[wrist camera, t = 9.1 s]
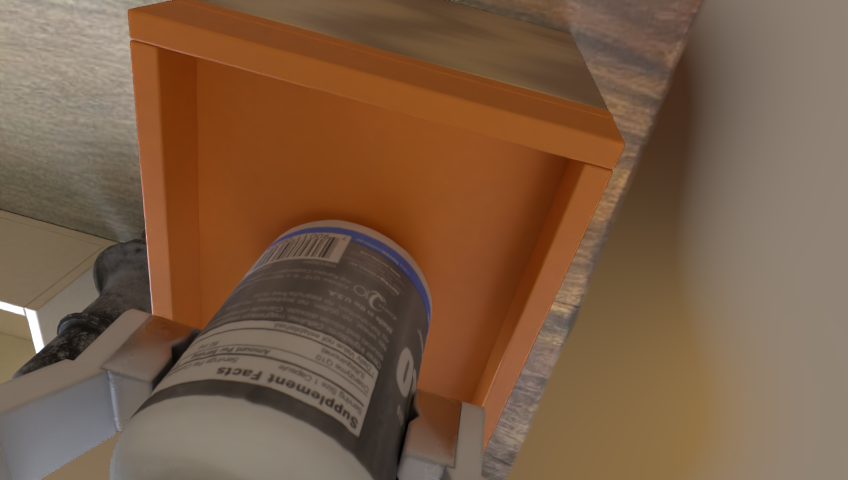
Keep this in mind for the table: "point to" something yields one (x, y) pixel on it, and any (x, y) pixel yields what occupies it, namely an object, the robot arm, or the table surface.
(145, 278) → the chess bishop
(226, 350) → the pill bottle
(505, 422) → the table surface
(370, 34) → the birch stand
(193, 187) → the amber tray
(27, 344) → the cream bin
